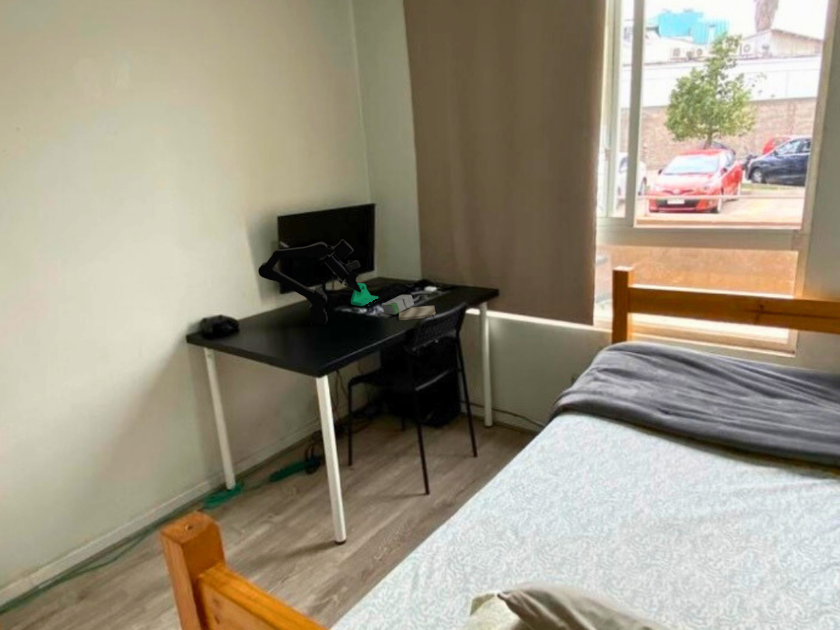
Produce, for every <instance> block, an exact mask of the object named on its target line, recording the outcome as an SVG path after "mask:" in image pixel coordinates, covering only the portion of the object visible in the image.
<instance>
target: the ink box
mask: <svg viewBox="0 0 840 630" xmlns="http://www.w3.org/2000/svg"><path fill="white" fill-rule="evenodd" d="M414 305H415V303H414V299H413V296H412V295H411V294H400V295H398V296H396V297H394V298H392V299H390V300H388V301H386V302H384V303H382V304H381V306H382V310H383V312H384V314H385V315H397V314H399V312H401V311H403V310H405V309H407V308H412V307H413V306H414Z"/></svg>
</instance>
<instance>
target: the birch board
mask: <svg viewBox="0 0 840 630" xmlns="http://www.w3.org/2000/svg"><path fill="white" fill-rule="evenodd" d="M435 314H436V309H435V305H425V306H415V307H413V306H412V307H409V308H407V309H405V310H403V311H401V312H399V313H398V320H399V321H407V320H416V319H425V317H428V316H432V315H435Z"/></svg>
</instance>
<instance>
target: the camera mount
mask: <svg viewBox="0 0 840 630" xmlns="http://www.w3.org/2000/svg"><path fill="white" fill-rule="evenodd" d="M357 284H358V285H359V287H360V289H361V292H357V291H355V290H353V293H352V295H351V298H350V304H351V305H354V306H357V307H359V306H360V307H363V306H365V305H366V304H368V303H369V302H372V301H373V300H375V299H378V298H379V296H377V295H371V293H370V292H369V290H368V289H367V285H366V284H365V283H362V282H357Z"/></svg>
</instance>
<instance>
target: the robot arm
mask: <svg viewBox="0 0 840 630" xmlns="http://www.w3.org/2000/svg"><path fill="white" fill-rule="evenodd" d="M354 251H355V250H354V249H353V247H352V246H351V244H350V243H348V242H347V241H346V240H344V239H343V238H342V239H340V241H339V243H337V244H336V245H335V246H334V245H329V244H327V243H326V242H324V241H318V242H315V243H313V244H310V245H307V246H299V247H291V248H282V249H279V248H278V249H275V250H274V251H273V253H272V254H271V256H270V257H269V258H268V260H267V261H266V262H263V263H262V264H261V265H260V266H259V267H258V271H257V272H258V275H259V277H261V278H263V279H266V280H269V281H272V282H277V283H278V284H281V285H282V286H284V287H286V288H288V289H290V290H291V291H293V292H295V293H297V294H299V295H300V296H302V297H304V298H306V300H307V301H308V302H309V303H310V305H309V317H310V320H311V322H310V326H311V327H312V326H321V325H323V326H324V325H326V324H327V323H328V319H329V318H328V314H327V311H326V308H325V306H327V302H328V295H327V294H326V293H325V290H321V289H320V288H318V287H316V286H315V288H313V289H311V288H310V287H307V286H306V285H304V284H302V283H301V282H298V281H297V280H295V279H293V278H292V277H290V276H288V275H287V274H284V273H283V272H282V271H280V269H279V268H277V265H276V264H277V263H278V262H279V261H280V260H283V259H292V258H298V257H299V258H300V257H312V258H320V259H319V261H320V263H319V264H320V266H323V265H324V264H325V265H326V266H327V267H328V268H329V269H330V270H331V271H332V273H333V274H334V275H335V276H337V282H338V283H339V284H340V285H343V286H345V287H348V288H349V289H351V290H353V291H354V290H355V291H357V292H361V289H360V287H359V285H358V284H357V283H358V282H357V278H358V277H359V274H358V273H357V272H356V271H354V270H356V269H359V268H361V263H360V261H359V259H355V260H353V259H350V260H347V264H346V263H344V262H342V261H341V260H342V259H343V260H345V259H347V257H348V256H350V255H351V254H352V253H353V252H354ZM343 283H344V284H343Z"/></svg>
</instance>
